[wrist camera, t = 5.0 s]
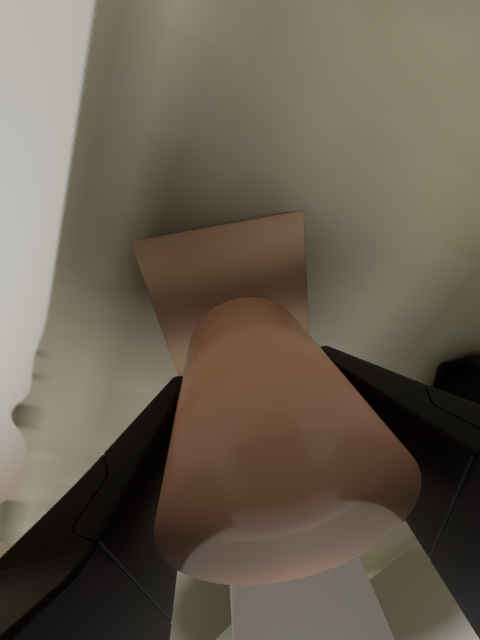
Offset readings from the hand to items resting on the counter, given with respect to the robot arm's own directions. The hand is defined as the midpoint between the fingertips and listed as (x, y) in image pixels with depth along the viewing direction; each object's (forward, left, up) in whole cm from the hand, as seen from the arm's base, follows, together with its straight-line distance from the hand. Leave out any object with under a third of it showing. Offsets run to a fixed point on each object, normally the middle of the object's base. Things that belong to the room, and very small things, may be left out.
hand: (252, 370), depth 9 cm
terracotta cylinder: (0, 0, -1) cm, 1 cm away
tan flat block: (0, 0, -10) cm, 10 cm away
